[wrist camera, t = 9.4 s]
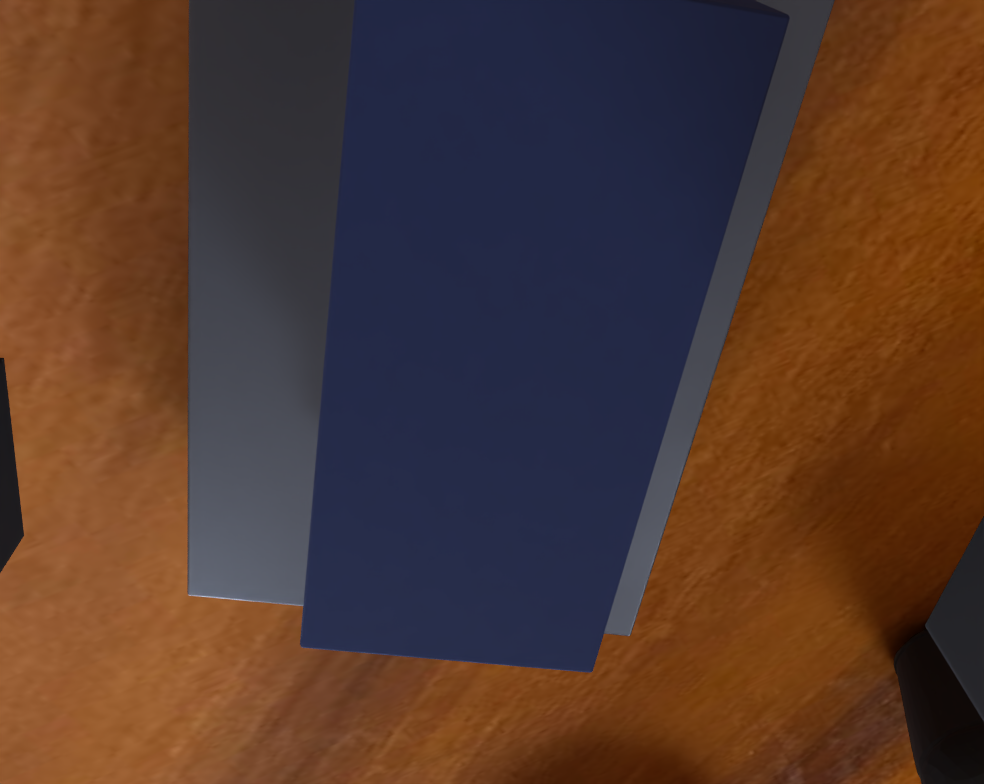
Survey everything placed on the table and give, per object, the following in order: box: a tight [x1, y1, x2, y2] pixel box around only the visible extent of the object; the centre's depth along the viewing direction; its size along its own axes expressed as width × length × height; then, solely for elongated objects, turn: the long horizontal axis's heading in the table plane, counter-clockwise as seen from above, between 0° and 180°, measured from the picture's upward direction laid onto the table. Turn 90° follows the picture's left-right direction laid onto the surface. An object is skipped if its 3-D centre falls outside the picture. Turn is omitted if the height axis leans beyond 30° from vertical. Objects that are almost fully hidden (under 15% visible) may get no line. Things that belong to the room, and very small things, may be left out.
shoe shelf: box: [188, 0, 835, 636], centre depth 25 cm, size 26×14×6 cm, turn 171°
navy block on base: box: [300, 0, 790, 672], centre depth 19 cm, size 14×6×9 cm, turn 171°
